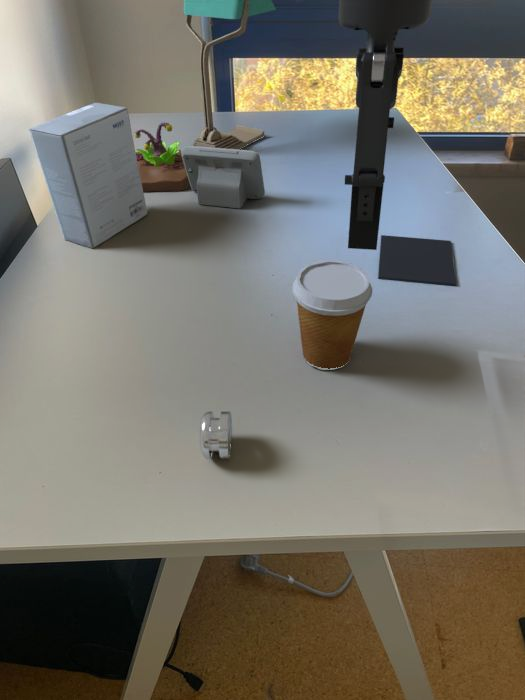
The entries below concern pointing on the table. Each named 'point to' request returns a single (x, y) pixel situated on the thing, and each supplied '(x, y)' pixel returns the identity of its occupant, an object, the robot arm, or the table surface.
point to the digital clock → (223, 175)
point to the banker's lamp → (217, 3)
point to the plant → (161, 164)
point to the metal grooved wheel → (216, 434)
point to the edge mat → (416, 260)
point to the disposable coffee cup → (330, 310)
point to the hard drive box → (91, 172)
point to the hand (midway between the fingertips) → (366, 216)
